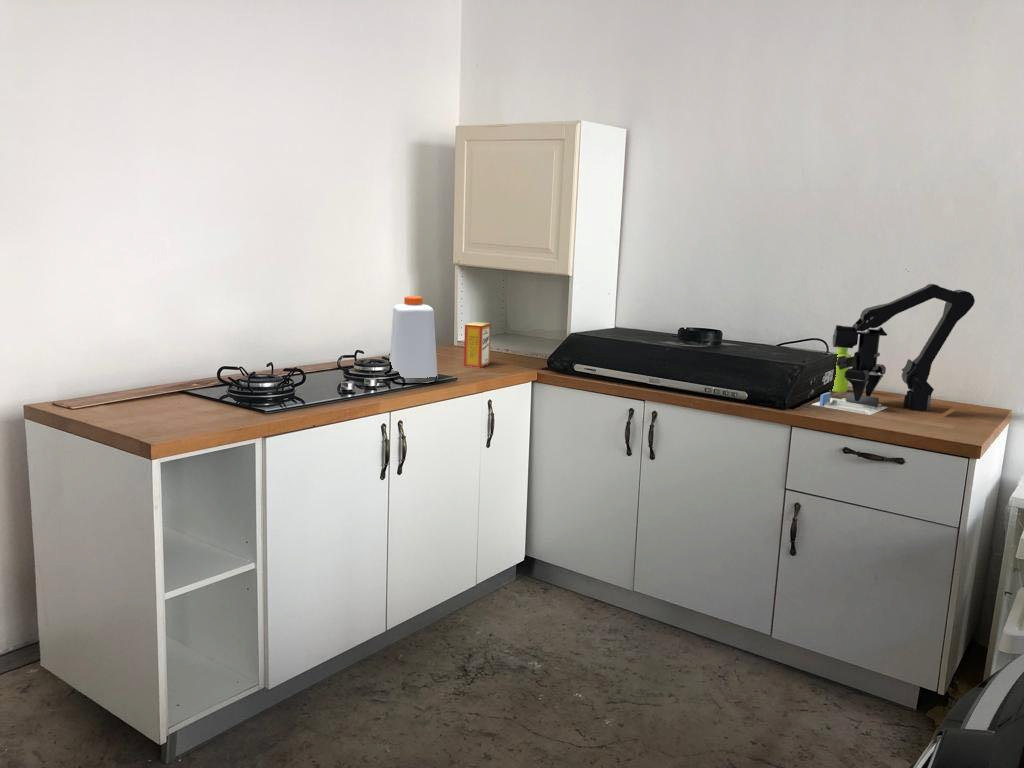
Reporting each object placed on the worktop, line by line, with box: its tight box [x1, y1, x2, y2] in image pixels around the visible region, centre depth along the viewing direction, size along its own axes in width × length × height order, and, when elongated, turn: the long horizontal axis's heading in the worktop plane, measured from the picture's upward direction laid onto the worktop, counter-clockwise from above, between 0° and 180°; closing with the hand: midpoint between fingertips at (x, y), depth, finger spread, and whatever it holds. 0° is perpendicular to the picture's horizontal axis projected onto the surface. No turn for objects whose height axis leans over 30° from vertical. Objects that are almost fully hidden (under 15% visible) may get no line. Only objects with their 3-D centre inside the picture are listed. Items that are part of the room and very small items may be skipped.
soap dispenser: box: [831, 347, 852, 393], centre depth 287 cm, size 6×7×20 cm
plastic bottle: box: [389, 295, 438, 378], centre depth 286 cm, size 15×15×28 cm
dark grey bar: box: [845, 392, 880, 407], centre depth 266 cm, size 9×3×3 cm, turn 48°
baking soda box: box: [463, 321, 492, 368], centre depth 318 cm, size 10×6×16 cm
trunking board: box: [811, 391, 888, 416], centre depth 264 cm, size 18×15×4 cm
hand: (862, 398), depth 266 cm, fingers open, 9 cm apart
